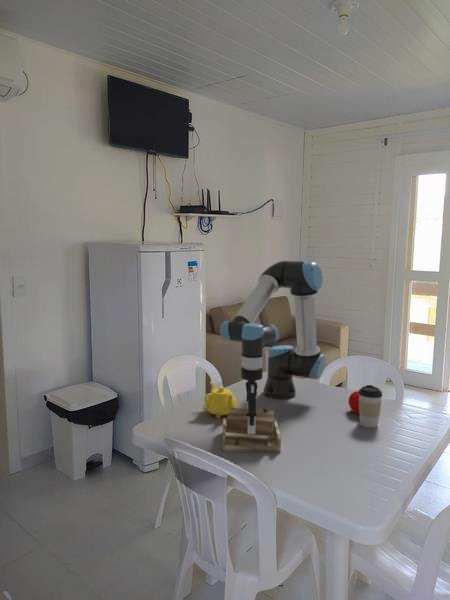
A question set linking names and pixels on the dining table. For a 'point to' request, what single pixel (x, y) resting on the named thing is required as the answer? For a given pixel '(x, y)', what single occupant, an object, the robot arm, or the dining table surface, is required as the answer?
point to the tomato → (354, 402)
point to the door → (239, 421)
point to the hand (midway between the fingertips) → (250, 426)
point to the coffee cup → (369, 405)
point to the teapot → (219, 401)
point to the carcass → (251, 441)
